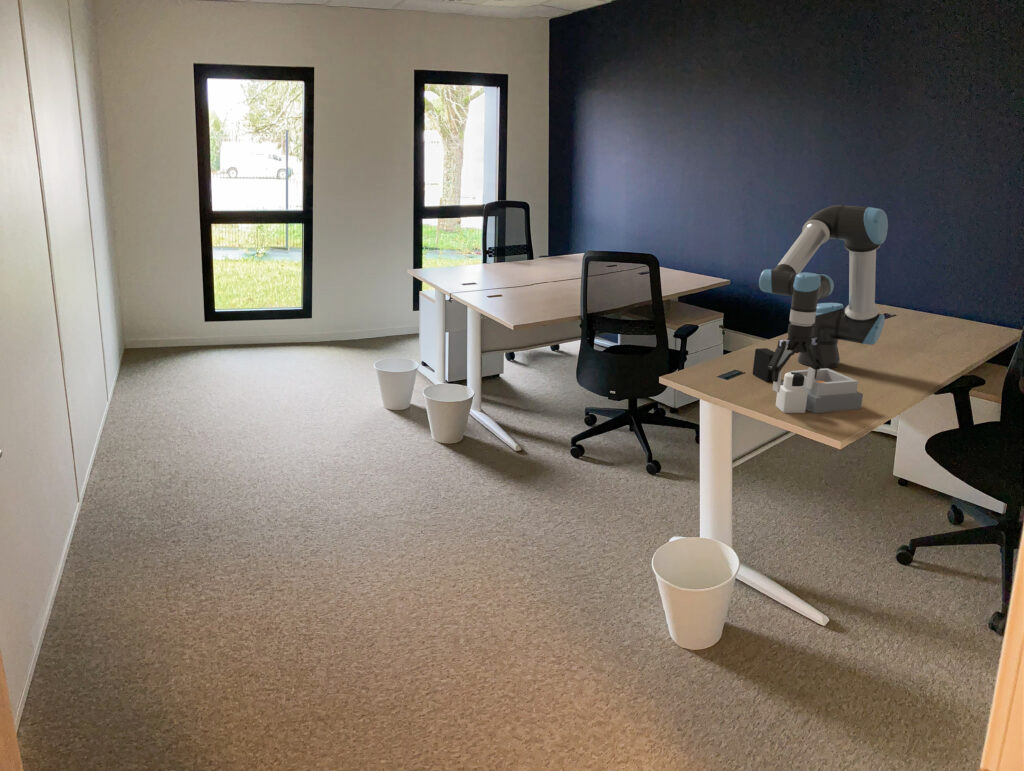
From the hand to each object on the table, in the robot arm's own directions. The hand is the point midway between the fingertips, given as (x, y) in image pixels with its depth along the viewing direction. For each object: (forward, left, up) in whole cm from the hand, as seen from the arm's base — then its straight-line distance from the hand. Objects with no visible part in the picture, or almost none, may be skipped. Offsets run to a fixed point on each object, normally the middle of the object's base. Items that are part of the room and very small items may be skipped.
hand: (792, 389), depth 265 cm
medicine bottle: (0, 0, -7) cm, 7 cm away
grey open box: (-14, -4, -6) cm, 16 cm away
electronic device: (-12, -32, -7) cm, 35 cm away
